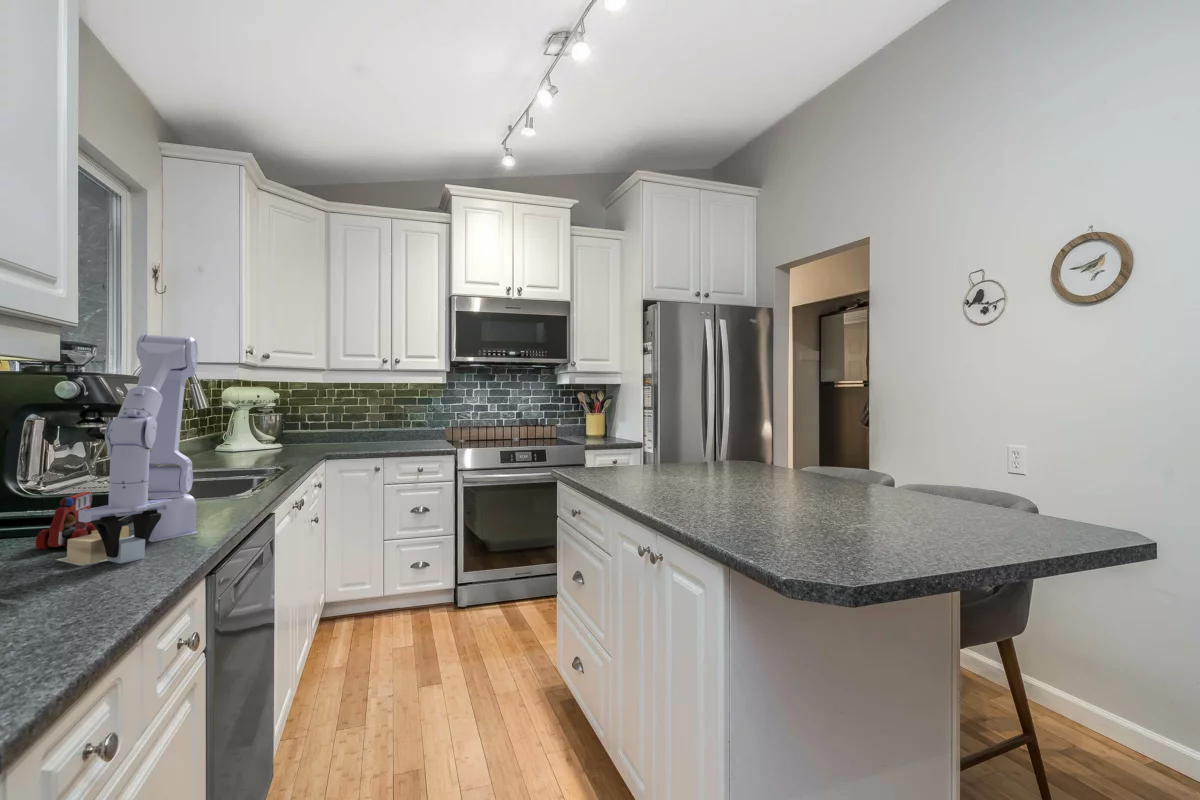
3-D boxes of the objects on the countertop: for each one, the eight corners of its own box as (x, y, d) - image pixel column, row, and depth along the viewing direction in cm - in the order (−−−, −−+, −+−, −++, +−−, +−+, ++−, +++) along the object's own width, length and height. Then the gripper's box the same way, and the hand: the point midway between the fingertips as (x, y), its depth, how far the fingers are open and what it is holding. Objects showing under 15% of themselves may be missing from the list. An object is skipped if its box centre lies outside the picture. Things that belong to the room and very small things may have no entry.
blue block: (131, 557, 111) (131, 536, 111) (144, 560, 110) (145, 539, 110) (106, 562, 108) (107, 541, 108) (120, 565, 106) (121, 543, 106)
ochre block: (112, 547, 117) (110, 527, 118) (129, 545, 117) (128, 525, 117) (92, 551, 113) (91, 531, 114) (110, 549, 113) (109, 529, 113)
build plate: (117, 549, 116) (117, 547, 116) (142, 554, 113) (142, 552, 113) (55, 561, 107) (55, 559, 107) (81, 567, 104) (81, 565, 104)
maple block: (94, 554, 111) (95, 533, 111) (116, 556, 110) (117, 535, 110) (66, 561, 106) (67, 539, 106) (90, 563, 105) (91, 541, 105)
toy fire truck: (28, 555, 110) (30, 500, 110) (65, 539, 122) (67, 490, 122) (73, 554, 112) (75, 500, 112) (105, 538, 124) (107, 490, 124)
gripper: (96, 488, 100) (93, 566, 100) (183, 479, 114) (180, 548, 114) (72, 484, 103) (69, 560, 103) (160, 476, 117) (157, 543, 117)
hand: (126, 553), depth 109 cm, fingers closed on blue block, 4 cm apart
